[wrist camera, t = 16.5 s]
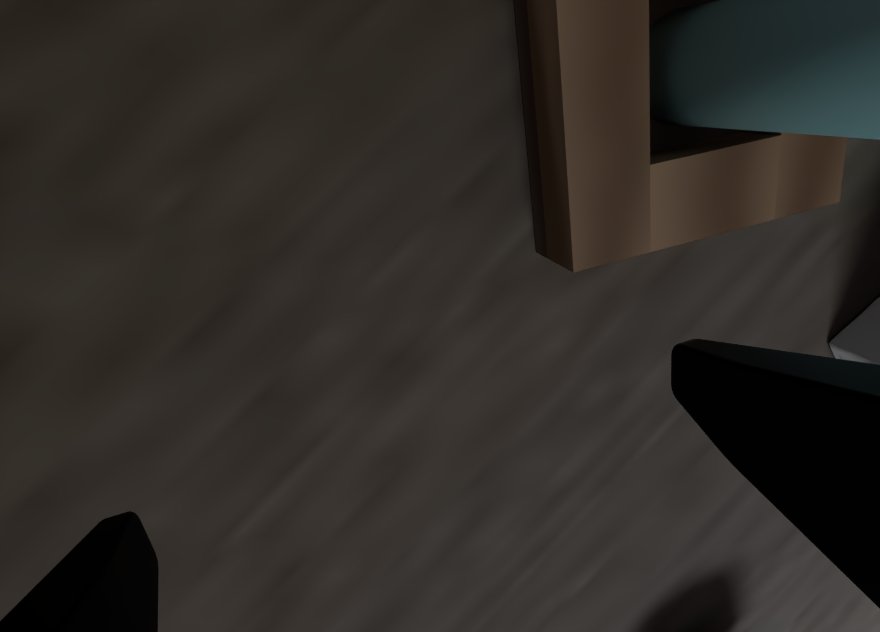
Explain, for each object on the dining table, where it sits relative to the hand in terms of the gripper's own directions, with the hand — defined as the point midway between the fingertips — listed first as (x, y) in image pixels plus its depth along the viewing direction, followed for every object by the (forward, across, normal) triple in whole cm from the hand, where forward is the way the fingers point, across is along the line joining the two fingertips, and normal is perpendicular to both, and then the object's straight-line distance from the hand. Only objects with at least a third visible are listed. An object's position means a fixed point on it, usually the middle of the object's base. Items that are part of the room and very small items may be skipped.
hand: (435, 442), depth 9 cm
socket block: (+13, -14, -4) cm, 20 cm away
